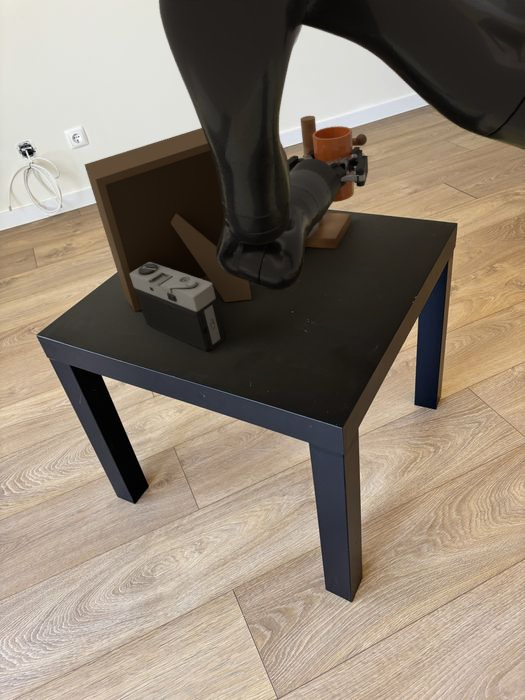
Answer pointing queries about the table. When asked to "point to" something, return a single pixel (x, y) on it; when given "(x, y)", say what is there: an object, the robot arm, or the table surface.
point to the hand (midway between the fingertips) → (337, 153)
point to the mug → (334, 151)
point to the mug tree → (331, 223)
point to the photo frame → (164, 212)
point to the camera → (179, 305)
